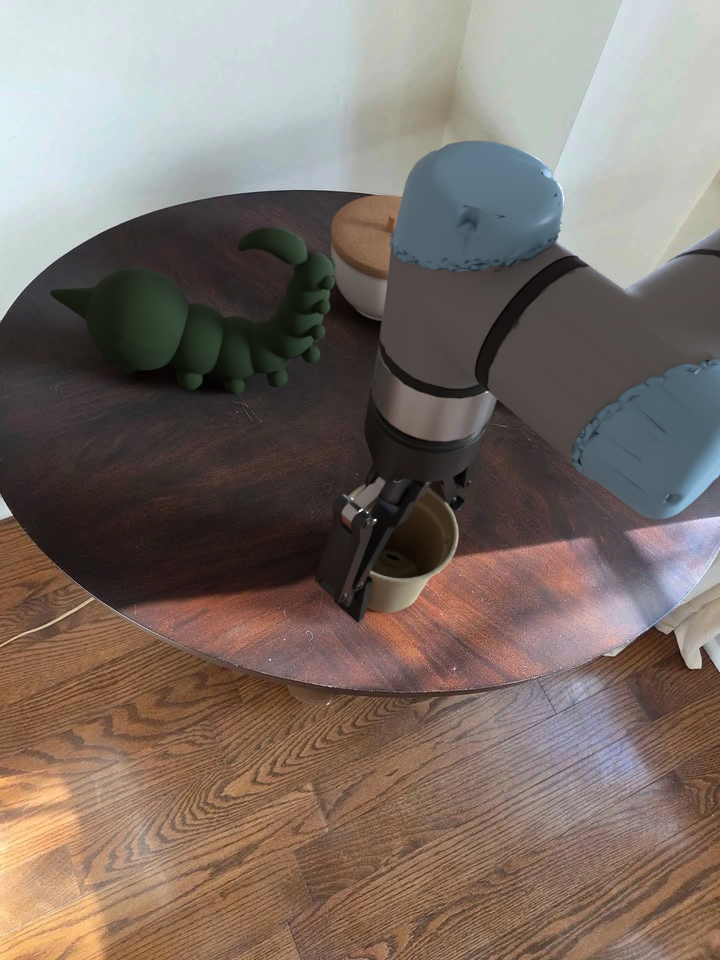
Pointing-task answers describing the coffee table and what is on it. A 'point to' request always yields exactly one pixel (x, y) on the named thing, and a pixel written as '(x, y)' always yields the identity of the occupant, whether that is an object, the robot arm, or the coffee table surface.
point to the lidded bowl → (364, 251)
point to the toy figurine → (207, 320)
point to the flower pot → (412, 553)
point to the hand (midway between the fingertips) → (386, 575)
